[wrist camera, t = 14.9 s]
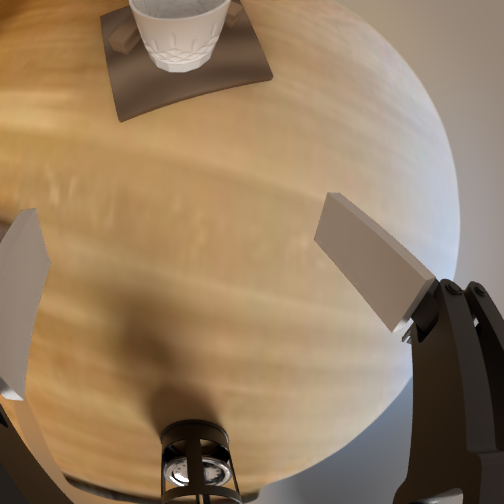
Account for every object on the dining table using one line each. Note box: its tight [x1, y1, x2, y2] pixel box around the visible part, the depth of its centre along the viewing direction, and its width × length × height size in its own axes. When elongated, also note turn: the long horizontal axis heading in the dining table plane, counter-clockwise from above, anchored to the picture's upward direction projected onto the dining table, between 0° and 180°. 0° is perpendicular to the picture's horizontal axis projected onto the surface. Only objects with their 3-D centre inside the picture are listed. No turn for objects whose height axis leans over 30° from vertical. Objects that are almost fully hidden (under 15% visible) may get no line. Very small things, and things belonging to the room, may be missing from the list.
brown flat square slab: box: [101, 0, 273, 122], centre depth 20 cm, size 16×16×3 cm
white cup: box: [128, 0, 231, 72], centre depth 17 cm, size 8×8×10 cm
